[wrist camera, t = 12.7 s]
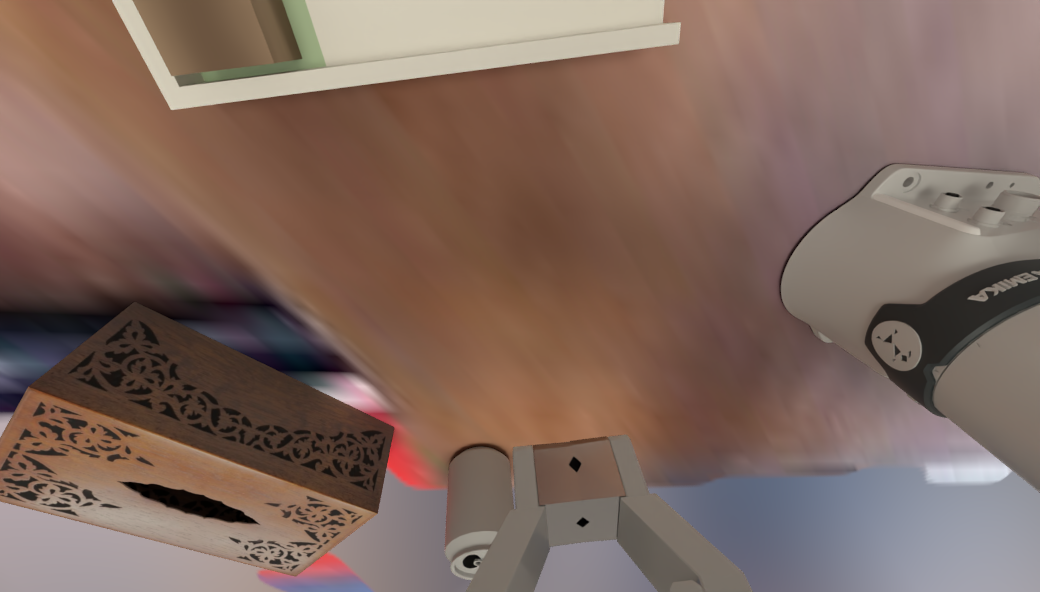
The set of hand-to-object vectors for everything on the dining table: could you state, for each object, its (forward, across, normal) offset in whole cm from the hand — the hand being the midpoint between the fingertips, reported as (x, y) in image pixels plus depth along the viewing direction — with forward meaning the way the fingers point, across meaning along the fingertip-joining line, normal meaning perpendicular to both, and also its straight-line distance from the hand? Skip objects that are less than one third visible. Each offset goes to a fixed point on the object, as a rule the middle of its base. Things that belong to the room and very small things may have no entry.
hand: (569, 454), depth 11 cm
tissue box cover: (+24, -30, -21) cm, 44 cm away
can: (+25, -8, -34) cm, 43 cm away
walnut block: (+21, -14, +12) cm, 28 cm away
